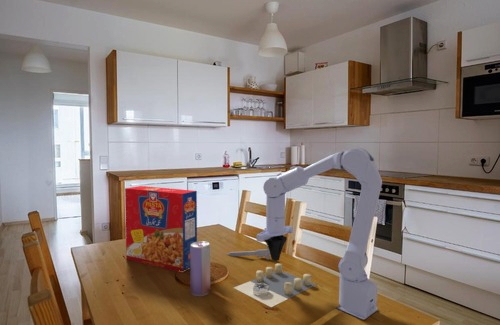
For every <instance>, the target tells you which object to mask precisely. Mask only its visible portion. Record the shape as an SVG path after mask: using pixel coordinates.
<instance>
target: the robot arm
mask: <svg viewBox="0 0 500 325" xmlns="http://www.w3.org/2000/svg"><path fill="white" fill-rule="evenodd" d="M289 169H290V170H287V171H285V172H283V173H280V172H279V173H277V174H276V177H269V178H268V179H266V181H265V182H263V187H262V188H263V192H264V194H265V195H266V205H265V206H266V208H265V209H266V212H265V214H266V215H265V217H266V223H265V224H266V225H265V228H264V230H263V231H261V232H260V233H257V234H256V241H257V242H259V243H260V242H261V243H262V242H265V243H266V245H267V247H268V248H269V251H270V255H269V256H270V259H271V261H276V262H278V261H280V258H281V254H282V251H283V248H284V246H285V243H286V241H287V239H288V238H287V236H284V235H288V234H293V233H294V227H293V226H291V225H286V193H289V192H291V191H293V190H296V189H298V188H300V187H304V186H306V185H307V184H308V182H309V179H310V178H312V177H314V176H317V175H320V174H322V173H324V172H327V171H330V170H332V169H336V170H343V169H344V170H345V171H347V172H348V173H349V174H350V175H352V176H353V177H355V179H356V180H357V181H358V183H359V184H360V185H361V189H360V194H359V198H358V201H357V202H358V203H357V206H356V211H355V215H354V219H353V224H352V227H351V232H350V236H349V240H348V244H347V246H346V249H345V253H344V256H343V257H342V258H341V259H340V260H339V263H338V272H339V284H338V285H339V286H338V287H339V292H338V304H339V305H338V306H337V307H336V309H338V310H340V311H342V312H344V313H347V314H350V315H352V316H354V317H356V318H358V319H360V320H366V319H368V317H370V316H371V315H373V314H374V313H375V312H377V311H378V309H379V308H378V307H377V306H378V287H377V283H376V282H374V281H372V280H371V279H369V277H368V274H367V272H366V270H365V268H366V267H367V264H368V259H369V258H368V255H367V250H368V243H369V239H370V234H371V230H372V226H373V223H374V218H375V214H376V210H377V206H378V201H379V198H380V193H381V189H382V186H383V180H382V177H381V174H380V172H379V169H378V166H377V164H376V160H375V158H374V157H373V155H372V154H371V153H370V152H369V151H368V150H367V149H365V148H361V147H358V148H357V147H356V148H349V149H346V150H345V151H340V152H336V153H334V154H331V155H328V156H327V157H324V158H322V159H320V160H319V161H316V162H315V163H312V164H311V165H308V166H306V167H302V166H299V165H298V166H296V165H294V166H291V167H290V168H289Z"/></svg>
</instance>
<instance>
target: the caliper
mask: <svg viewBox="0 0 500 325" xmlns="http://www.w3.org/2000/svg"><path fill="white" fill-rule="evenodd" d="M226 256H230V257H239V256H240V257H241V256H242V257H243V256H245V257H246V256H257V258H263V257H264V256H265V258H266V260H270V259H271V255H270V251H269V248H268V246H267V248H266V249H256V250H250V251H249V250H248V251H246V250H245V251H229V253H227V254H226Z"/></svg>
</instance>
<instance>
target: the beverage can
mask: <svg viewBox="0 0 500 325" xmlns="http://www.w3.org/2000/svg"><path fill="white" fill-rule="evenodd" d="M189 271H190V273H189V274H190V276H189V278H190V280H189V282H190V285H189V286H190V293H191V295H192V296H195V297H204V296H207V295H209V293H210V291H211V246H210V242H208V241H204V240H200V241H198V240H197V242H193V243H192V244H191V247H190V269H189Z"/></svg>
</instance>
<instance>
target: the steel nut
mask: <svg viewBox="0 0 500 325" xmlns="http://www.w3.org/2000/svg"><path fill="white" fill-rule="evenodd" d="M253 294H254V295H256V296H259V297H262V296H268V294H269V285H267V284H265V283H257V284H255V285H254V287H253Z"/></svg>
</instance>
